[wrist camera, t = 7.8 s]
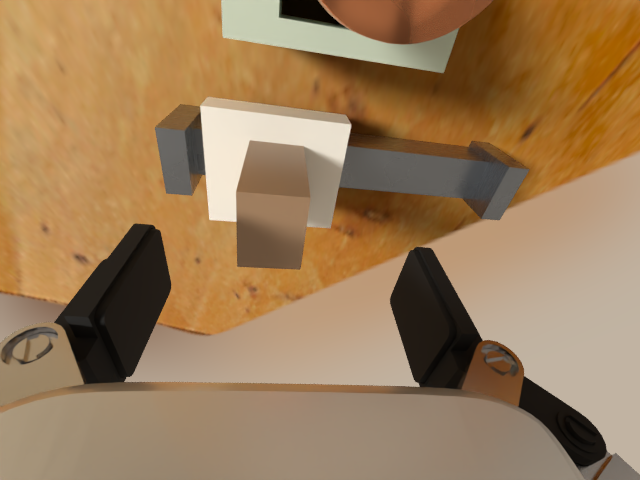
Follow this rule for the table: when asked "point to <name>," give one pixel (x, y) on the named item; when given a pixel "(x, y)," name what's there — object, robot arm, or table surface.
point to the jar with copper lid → (403, 17)
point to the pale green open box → (326, 36)
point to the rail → (368, 165)
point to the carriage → (272, 175)
